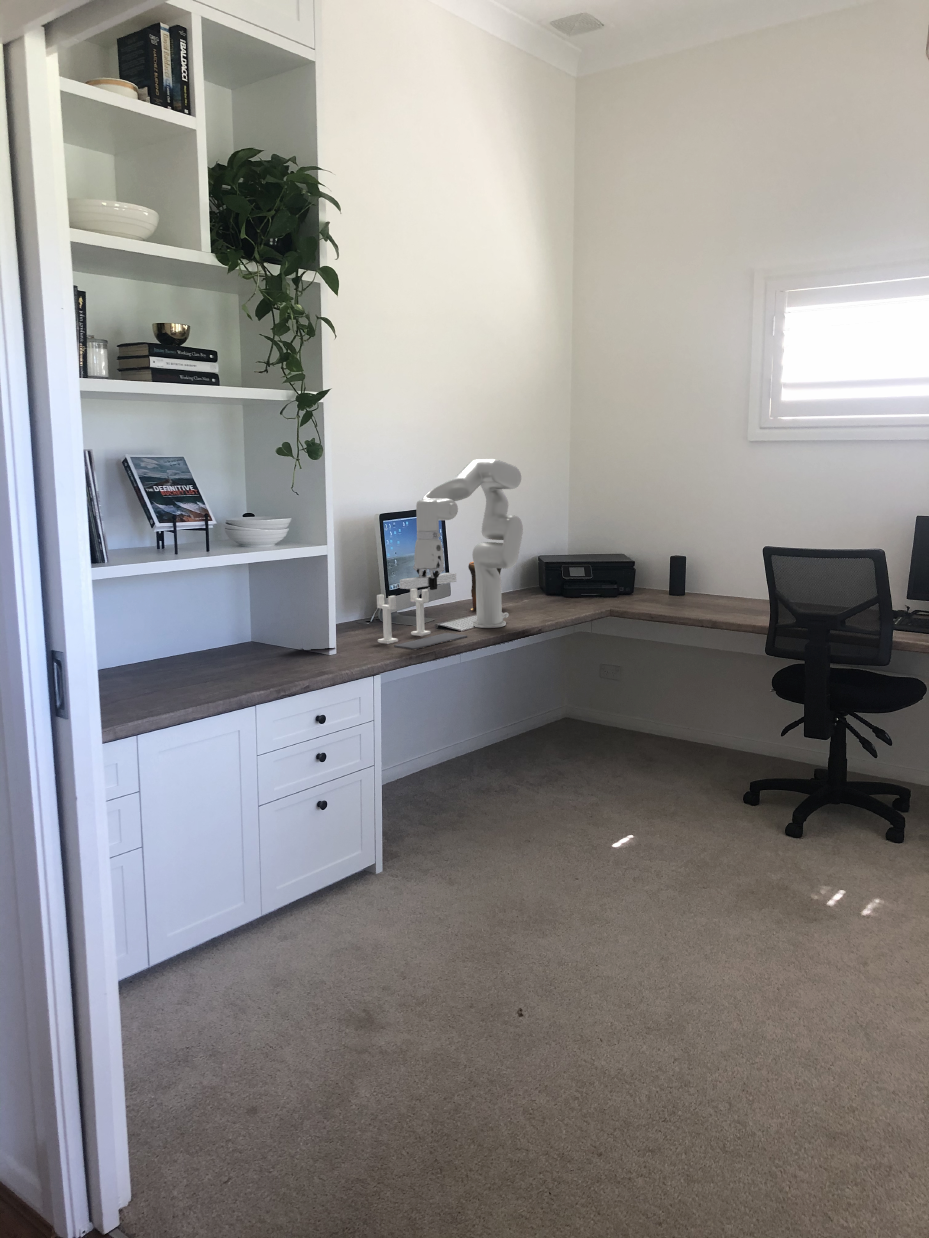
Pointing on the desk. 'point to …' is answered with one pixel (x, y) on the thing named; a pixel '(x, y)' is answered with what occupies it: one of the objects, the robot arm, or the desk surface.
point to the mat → (430, 641)
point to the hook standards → (392, 605)
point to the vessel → (473, 590)
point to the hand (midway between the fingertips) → (428, 588)
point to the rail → (426, 580)
